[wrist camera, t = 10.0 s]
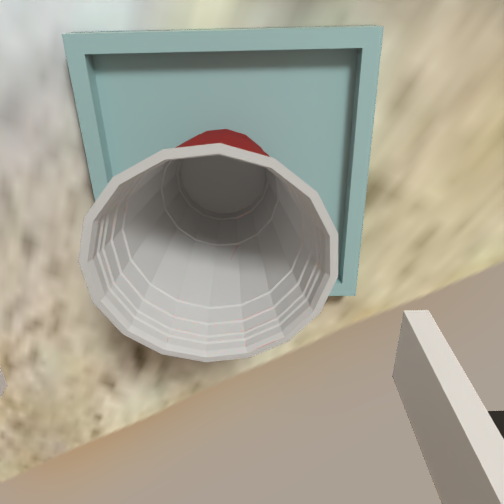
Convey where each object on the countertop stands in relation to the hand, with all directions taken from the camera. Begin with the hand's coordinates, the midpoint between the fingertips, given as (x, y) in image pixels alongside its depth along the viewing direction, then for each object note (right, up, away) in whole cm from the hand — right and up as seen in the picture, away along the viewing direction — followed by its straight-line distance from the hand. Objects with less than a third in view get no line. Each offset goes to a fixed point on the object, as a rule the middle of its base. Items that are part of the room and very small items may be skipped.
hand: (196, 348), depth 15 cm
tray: (0, +8, +15) cm, 17 cm away
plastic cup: (0, +8, +15) cm, 17 cm away
